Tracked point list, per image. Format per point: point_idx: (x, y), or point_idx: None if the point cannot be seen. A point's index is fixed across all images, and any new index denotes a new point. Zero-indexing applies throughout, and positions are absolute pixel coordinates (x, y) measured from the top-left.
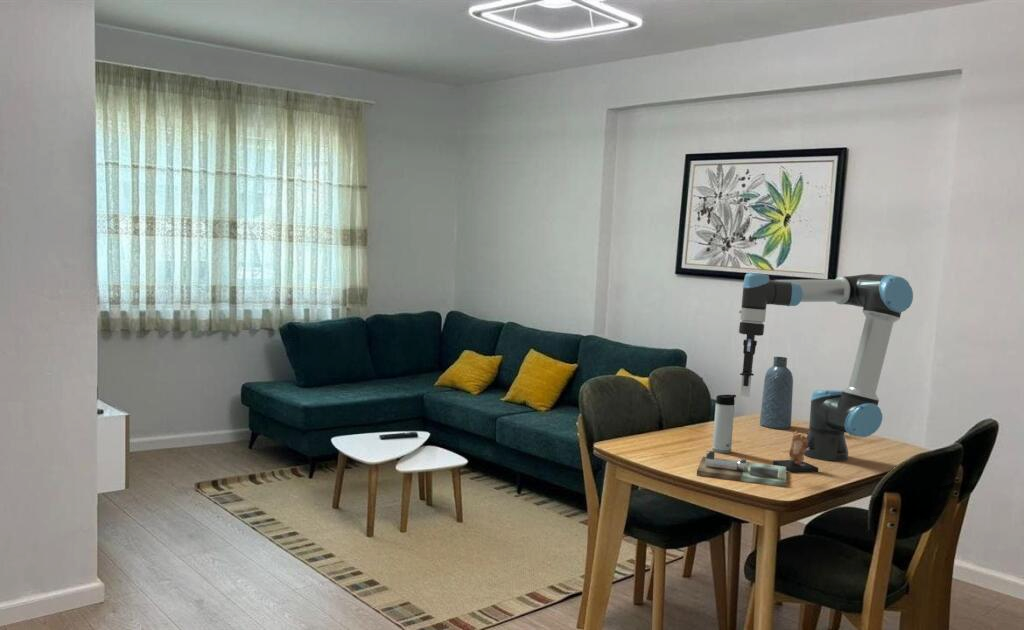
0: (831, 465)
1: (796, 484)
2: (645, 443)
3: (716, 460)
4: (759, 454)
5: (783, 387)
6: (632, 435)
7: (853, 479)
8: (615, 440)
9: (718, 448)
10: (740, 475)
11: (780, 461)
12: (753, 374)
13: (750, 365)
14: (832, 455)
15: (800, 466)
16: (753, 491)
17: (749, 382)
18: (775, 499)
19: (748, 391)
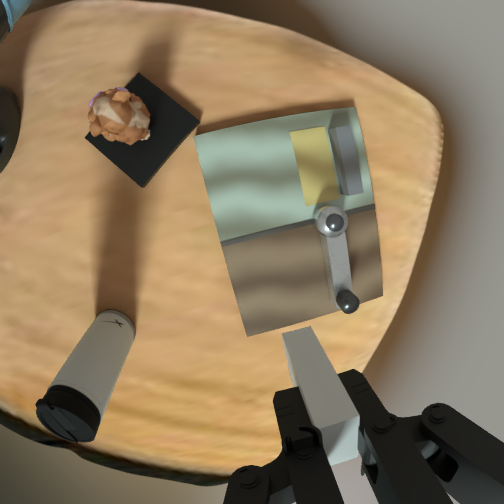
0: (54, 82)
1: (310, 90)
2: (189, 441)
3: (350, 280)
4: (68, 249)
5: None
6: (152, 463)
7: (160, 6)
8: (212, 468)
9: (132, 336)
10: (372, 208)
11: (138, 168)
12: (318, 430)
13: (501, 447)
14: (10, 98)
15: (156, 109)
16: (420, 164)
17: (342, 386)
18: (439, 121)
19: (321, 348)
